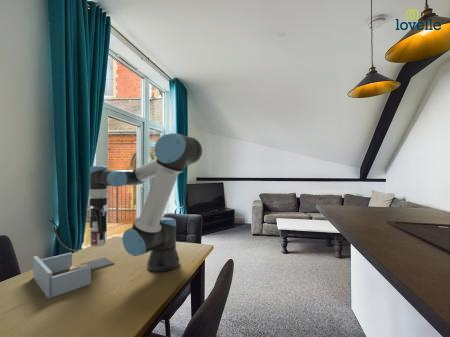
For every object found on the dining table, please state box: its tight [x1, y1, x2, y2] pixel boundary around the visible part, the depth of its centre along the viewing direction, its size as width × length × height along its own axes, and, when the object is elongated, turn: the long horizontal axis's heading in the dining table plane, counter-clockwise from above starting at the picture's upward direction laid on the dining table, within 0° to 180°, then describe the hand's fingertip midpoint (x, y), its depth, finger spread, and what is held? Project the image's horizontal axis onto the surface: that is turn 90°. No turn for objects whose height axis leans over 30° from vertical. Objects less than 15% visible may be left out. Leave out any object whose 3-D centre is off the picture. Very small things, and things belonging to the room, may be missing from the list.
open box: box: [32, 252, 92, 299], centre depth 95 cm, size 24×14×9 cm, turn 50°
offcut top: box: [69, 264, 88, 271], centre depth 100 cm, size 6×4×2 cm, turn 116°
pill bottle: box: [90, 221, 106, 248], centre depth 112 cm, size 6×6×11 cm
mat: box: [80, 257, 115, 272], centre depth 112 cm, size 11×11×1 cm
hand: (97, 244), depth 112 cm, fingers closed on pill bottle, 6 cm apart
